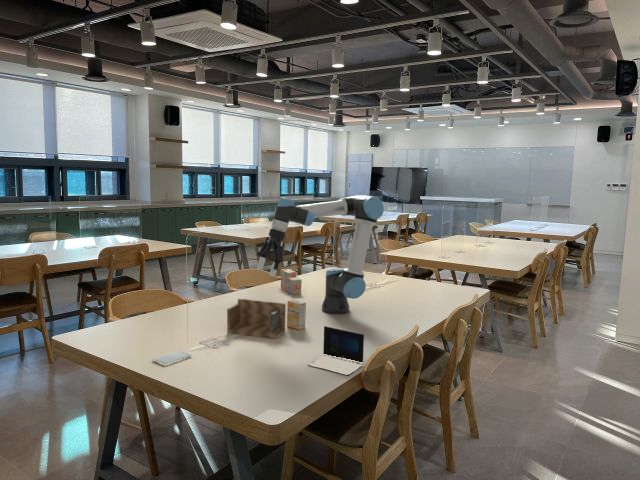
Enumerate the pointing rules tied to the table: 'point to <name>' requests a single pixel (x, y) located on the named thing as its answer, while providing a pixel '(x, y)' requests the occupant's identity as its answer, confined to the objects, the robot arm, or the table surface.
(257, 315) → the small wooden side table
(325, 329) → the laptop
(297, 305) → the supplement box
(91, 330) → the table surface
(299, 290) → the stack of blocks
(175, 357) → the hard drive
